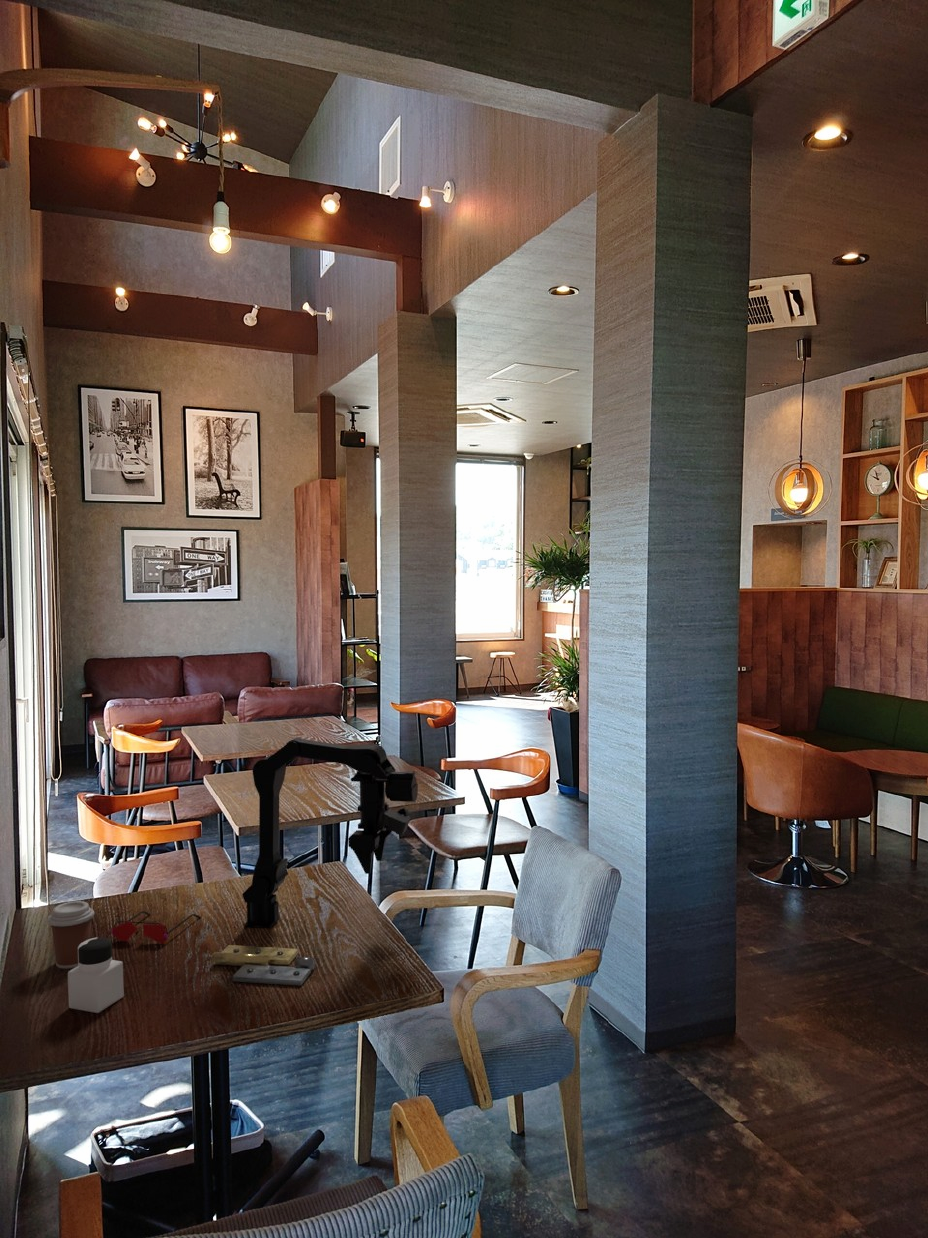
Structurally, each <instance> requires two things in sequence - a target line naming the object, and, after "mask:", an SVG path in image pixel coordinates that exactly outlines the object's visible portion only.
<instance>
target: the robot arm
mask: <svg viewBox="0 0 928 1238" xmlns="http://www.w3.org/2000/svg"><path fill="white" fill-rule="evenodd" d="M387 756H388V755H387V753H386V749H384V747H383V746H381V745H380V744H377V743H376V744H375V743H374V744H373V743H372V744H371V743H368V744H365V743H364V744H355V745H345V744H337V743H333V742H331V743H329V742H324V741H318V740H317V741H316V740H309V739H304V738H301V737H295V738H293V739H291V740H289V741H287V742H286V743H285V745H284V746H282V747H281V748H279V749H278V750H277V751H276V752H274V753H272V754H270V755H268V756H265V757H264V758H261V759H260V760H257V761H256V762H255V763H254V765H253V767H252V776H253V777H252V778H253V784H254V787H255V789H256V791H257V794H258V797H259V798H258V799H259V803H258V804H259V805H258V806H259V811H258V813H259V817H258V818H259V820H258V821H259V822H258V824H259V825H258V826H259V827H258V828H259V829H258V832H259V833H258V835H259V836H258V837H259V839H258V843H259V844H258V850H259V851H258V858H257V861H256V863H255V866H254V868H253V874H252V877H251V878H252V879H251V884H250V885H249V887H248V888H246V889H245V891H244V892H243V893H242V897H243V901H244V903H245V904H246V922H245V923H243V924H244V927H250V928H253V927H254V928H266V929H267V928H271V927H272V926H273V925H274V924H275V923H276V922H277V921H278V920H279V919H280V916H281V915H280V912H279V908H280V907H279V906H280V905H279V901H278V900H277V894H275V893H276V892H278V890H279V887H280V886H281V885H282V884H283V883H284V882H285V881H286V877H287V876H288V875H289V872H288V862H289V860H288V858H283V857H282V856H281V853H280V793H281V789H282V786H283V784H284V781H285V778H286V772H287V767H288V766H289V765H290V764H291V763H293V762H294V761H295V760H296V759H297V758H302V759H309V760H316V761H323V762H329V763H335V764H341V765H344V766H347V767H349V768H351V769H352V770H354V771H356V773H355V775H354V776H352V777H351V778H350V782H355V783H356V782H357V783H358V782H359V805H358V806H357V812H359V816H360V817H359V818H360V820H359V821H360V822H359V823H358V824H357V829H356V830H355V831H353V833H352V834H350V836H349V837H348V839H347V841H348V843H347V844H348V847H349V848H350V849H351V850H352V851H353V852H354V854H355V856H356V858H357V860H358V862H359V864H360V865H361V869H362V870H363V871H364V874H365V875H366V874H367V875H369V874H371V872H372V865H373V858H374V857H373V856H375V859H376V860H375V861H377V862H381V861H382V859H383V855H384V850H385V846H386V842H387V838H388V836H389V835H390V834H391V833H392V832H394V833H395V834H396V835H399V836H403V835H404V833H405V832H406V831H407V829H408V826H409V823H410V822H411V816H410V815H409V810H408V808H405V807H403V806H402V807H401V808H399V809H398V810H395V809H394V810H392V809H389V808H390V807H389V806H390V805H389V804H388V802H387V801H386V799H388V800H389V801H390V802H409V803H410V802H411V803H414V802H415V803H416V801H417V800H418V799H417V798H418V794H419V793H418V791H419V783H418V782H417V778H416V773H415V771H414V770H413V771H412V770H411V771H409V770H408V771H396V768H395V766H394V764H392V763H391V761H390V760H389V759H388V757H387ZM385 797H386V798H385Z"/></svg>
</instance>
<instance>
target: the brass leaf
mask: <svg viewBox="0 0 928 1238" xmlns="http://www.w3.org/2000/svg"><path fill="white" fill-rule="evenodd" d="M298 954H299V949H298V948H286V947H271V946H269V947H267V946H251V945H250V946H249V945H234V944H228V945H227V946H226V947H225V948H224V949H223V950H222V951H221V952H220V951H219V952H218V951H214V952H213V953H212V955H211V961H210V962H211V964H212V965H219V966H220V965H222V966H235V967H236V966H237V967H242V966H243V965H244V964H250V965H267V966H271V965H280V966H289V965H290V964H291V963H292V962H293V960H295V959H296V958H297V957H298Z"/></svg>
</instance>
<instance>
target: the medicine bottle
mask: <svg viewBox="0 0 928 1238" xmlns="http://www.w3.org/2000/svg"><path fill="white" fill-rule="evenodd" d="M67 987H68V989H67V990H68V1008H70V1009H72V1010H79V1011H84V1012H90V1013H94V1014H99V1013H101V1012H102V1011H104V1010H105V1009H106V1008H108V1007H110V1006H111V1005H113V1004H114V1003H116V1002H118V1001H119V1000H121V999H122V998H123V997H124V995H125V993H124V991H125V990H124V963H123V961H121V960H116V959H113V942H112V940H111V939H109V938H107V937H100V936H99V937H93V938H90V939H89V940H86V941H84V942H82V943H81V944H80V945H79V946H78V967H75V968H71V969H70V970H69V971H68V972H67Z"/></svg>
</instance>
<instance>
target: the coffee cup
mask: <svg viewBox="0 0 928 1238" xmlns="http://www.w3.org/2000/svg"><path fill="white" fill-rule="evenodd" d="M94 916H95V911H94V909H93V908H91V907H90V905H89V902H86V901H83V900H76V901H75V900H73V901H68V902H64V903H60V904H59V905H55V907H54V908H53V909H52V913H51V914H50V915H49V916H48V917H47V923H48V925H50V926H51V933H52V941H53V947H54V955H55V956H54V957H55V965H56V967H57V968H59V969H67V970H68V969H74V968H76V967H78V946H79V945H80V944H81V943H82V942H84V941H86V940H89V939H91V927H92V926H91V925H92V919H93V918H94Z"/></svg>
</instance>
